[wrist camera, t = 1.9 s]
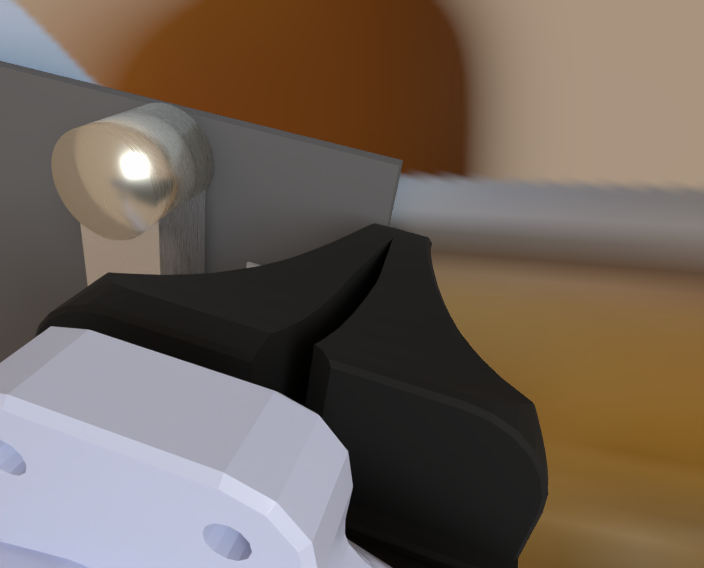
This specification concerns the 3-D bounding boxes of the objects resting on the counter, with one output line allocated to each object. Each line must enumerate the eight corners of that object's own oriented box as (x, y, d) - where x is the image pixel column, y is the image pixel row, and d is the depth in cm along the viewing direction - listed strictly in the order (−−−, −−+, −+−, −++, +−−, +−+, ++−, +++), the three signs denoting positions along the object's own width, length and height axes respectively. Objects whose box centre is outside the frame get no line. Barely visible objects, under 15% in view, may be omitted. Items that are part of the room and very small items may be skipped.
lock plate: (317, 565, 21) (313, 577, 20) (-16, 438, 23) (-26, 446, 23) (402, 160, 12) (397, 167, 12) (-133, 28, 15) (-153, 30, 14)
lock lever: (221, 510, 20) (185, 571, 18) (132, 477, 20) (88, 532, 18) (238, 121, 12) (180, 150, 10) (98, 86, 13) (17, 107, 11)
